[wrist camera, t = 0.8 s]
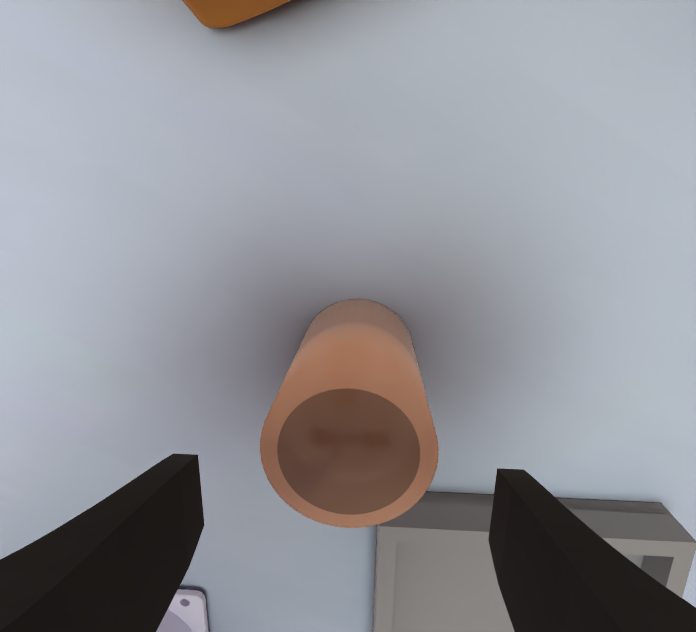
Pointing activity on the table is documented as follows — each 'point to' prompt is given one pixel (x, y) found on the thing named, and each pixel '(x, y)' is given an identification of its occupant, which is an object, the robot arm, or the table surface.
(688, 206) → the table surface
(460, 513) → the tray
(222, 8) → the coffee package
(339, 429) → the cup
